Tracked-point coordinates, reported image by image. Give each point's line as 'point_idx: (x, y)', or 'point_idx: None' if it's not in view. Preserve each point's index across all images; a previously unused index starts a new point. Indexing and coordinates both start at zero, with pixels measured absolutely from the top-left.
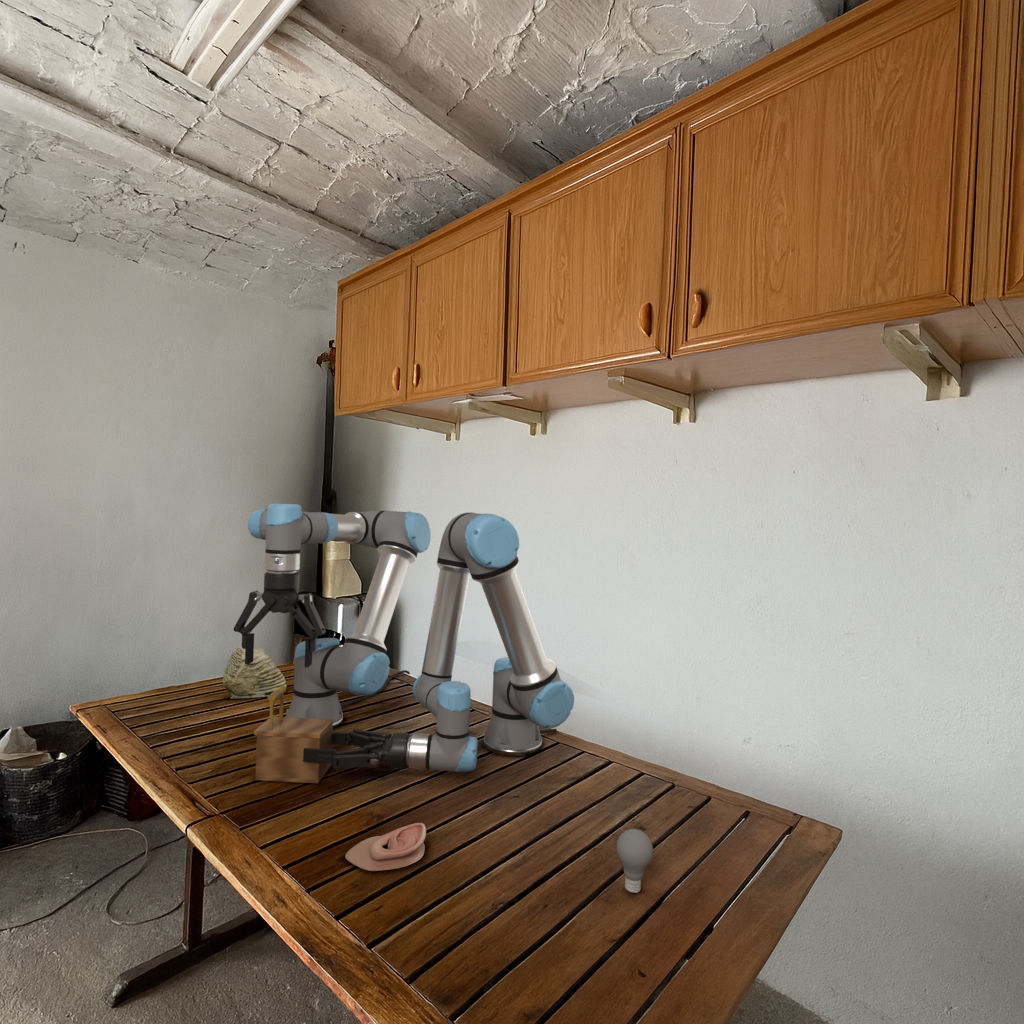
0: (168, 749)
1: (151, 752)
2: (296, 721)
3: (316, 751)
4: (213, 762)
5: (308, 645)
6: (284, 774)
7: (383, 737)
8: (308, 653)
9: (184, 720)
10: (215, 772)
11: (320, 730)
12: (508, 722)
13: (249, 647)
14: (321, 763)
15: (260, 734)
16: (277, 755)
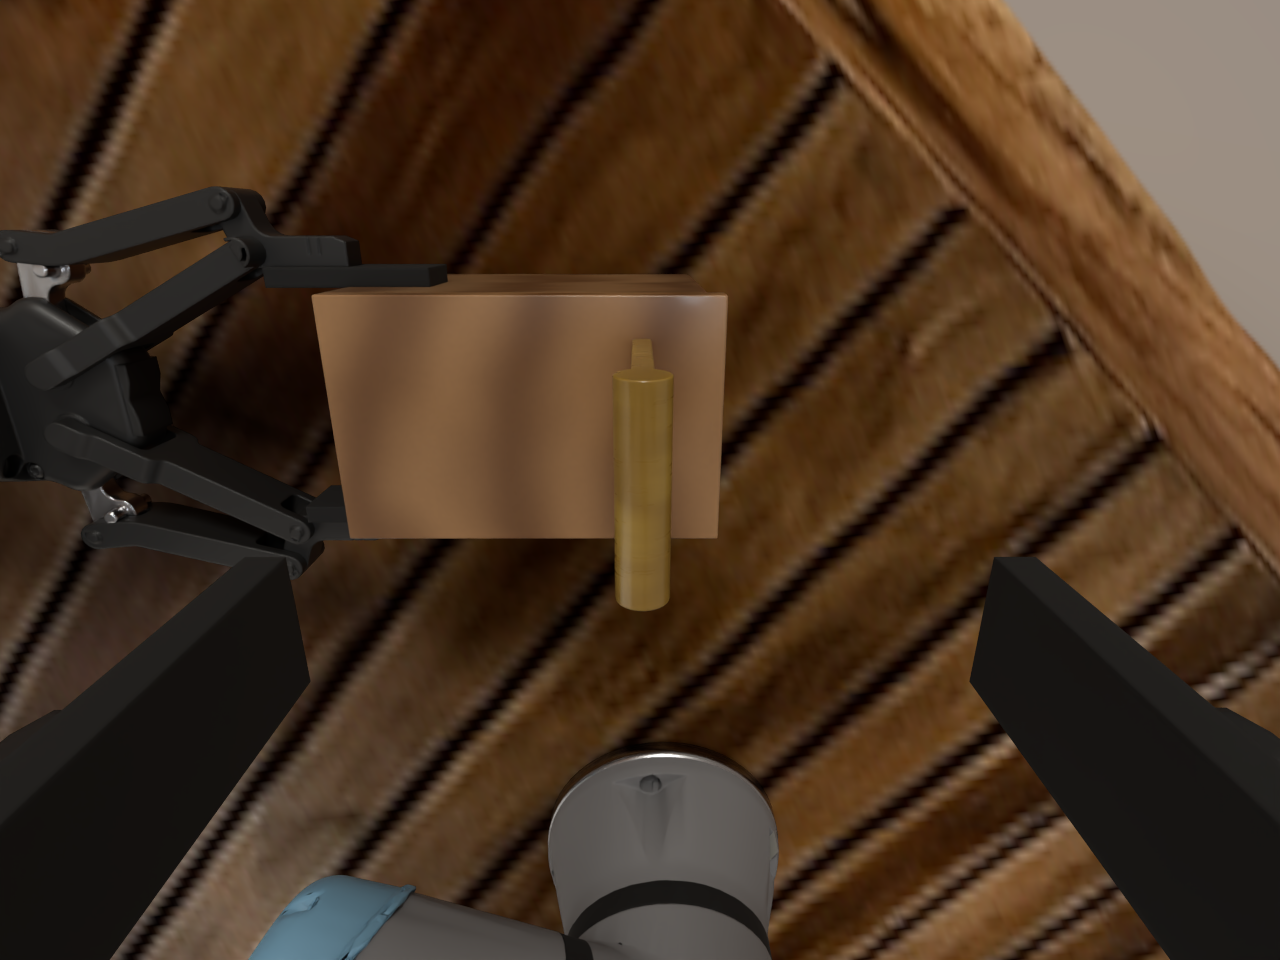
0: (1162, 525)
1: (1224, 489)
2: (541, 480)
3: (357, 267)
4: (931, 426)
5: (13, 756)
6: (555, 276)
7: (116, 509)
8: (123, 665)
9: None
10: (887, 331)
11: (335, 355)
12: None
13: (1126, 713)
14: None
15: (685, 293)
16: (585, 283)
